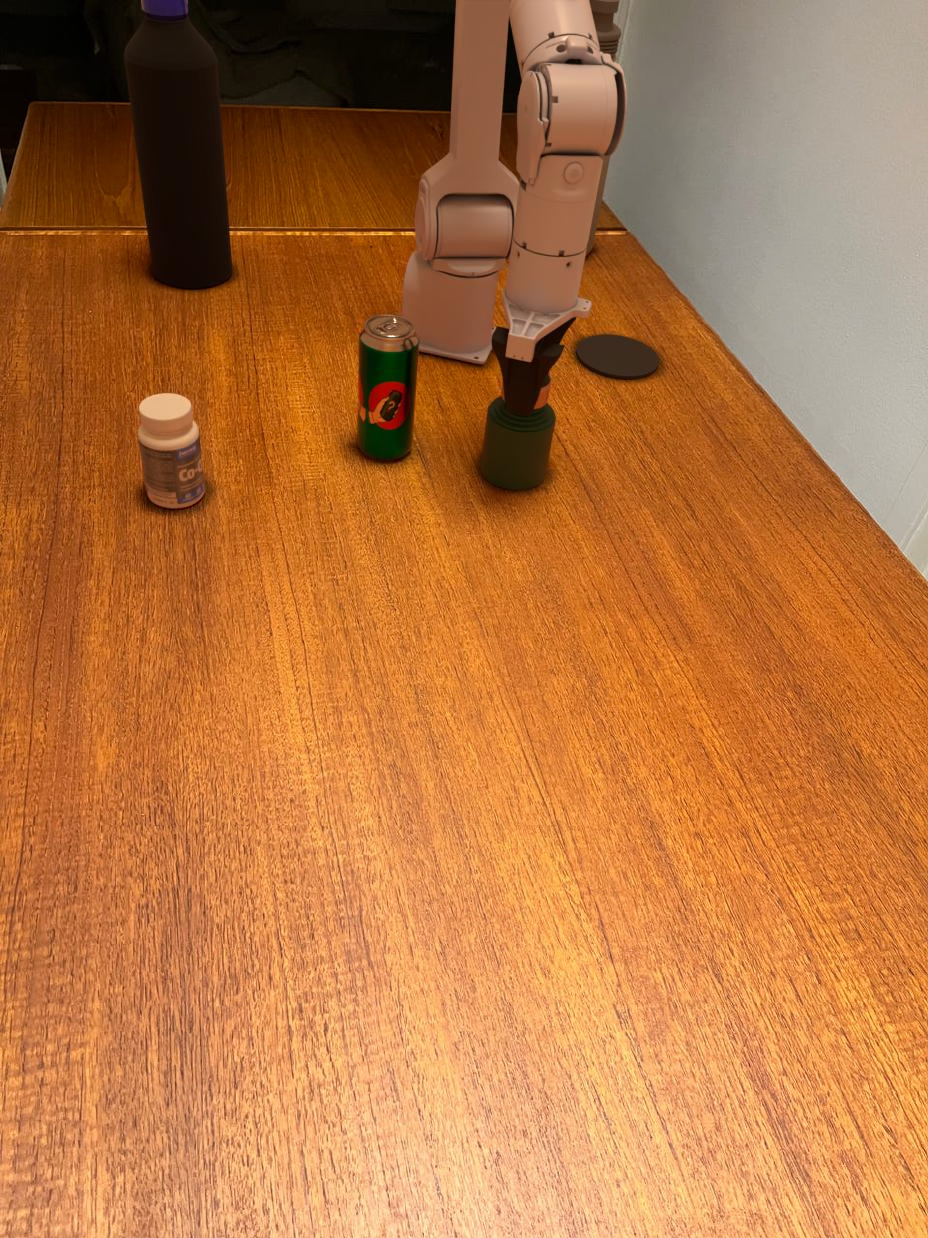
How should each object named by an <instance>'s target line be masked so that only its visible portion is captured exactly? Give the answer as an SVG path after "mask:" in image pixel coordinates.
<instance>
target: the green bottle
mask: <svg viewBox="0 0 928 1238" xmlns="http://www.w3.org/2000/svg"><path fill="white" fill-rule="evenodd" d="M556 421H557V416H556V413H555V411H554V409H553V407H552V406H551V405H550V403H548V402H547V403H546V405H544V406H543V407H541V408H538V409H534V410H533V412H532V414H531V415H530V417H526V416H522V415H517V414H513V413H508V412H507V411H506V406H505V401H504V400H503V399H502V396H501V395H499V396H498V397H496V398H495V399H493V400H492V401H491V403H489V404H488V406H487V410H486V417H485V426H484V433H483V442H482V450H481V457H480V465H479V469H480V470H479V471H480V472H481V475H482V476H483V478H484V479H486V480H487V481H488V482H489V483H490V484H492V485H494V486H497V487H498V488H502V489H505V490H511V491H526V490H530V489H534V488H536V487H538V486H540V485H541V484H542V483H543V482H544V480H545V479H546V475H547V471H548V466H549V465H548V464H549V459H550V453H551V449H552V443H553V437H554V431H555V427H556Z"/></svg>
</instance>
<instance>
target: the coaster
mask: <svg viewBox="0 0 928 1238" xmlns="http://www.w3.org/2000/svg"><path fill="white" fill-rule="evenodd" d="M575 355H576V358H577V359H578V361H579V362H580V364H582V366H584V367H586V369H589V370H590V371H592V372H594V373H596V374H597V375H598V374H599V375H601V376H603V377H608V378H612V379H617V380H638V379H643V378H646V377H650V376H651V375H653V374H654V373H655V372H656V371H657V370H658V368H659V364H660V359H659V356H658V354H657V353H656V351H655V350H654V349H653V348H652V347H650V346H649V345H648V344H646V343H643V342H642V341H640V340H637V339H635V338H632V337H628V336H624V335H619V334H611V333H610V334H608V333H606V334H605V333H603V334H595V335H591V336H588V337H585V338H583V339H581V340H580V341H579V343H578V344H577V346H576V349H575Z"/></svg>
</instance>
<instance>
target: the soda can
mask: <svg viewBox="0 0 928 1238" xmlns="http://www.w3.org/2000/svg"><path fill="white" fill-rule="evenodd" d="M419 355H420V351H419V337H418V335H417V334H416V327H415V325H414V324H413V323H412V322H411V321H410V320H408V319H406V318H404V317H401V315H395V314H378V315H374V316H371V317H369V318H367V319H366V320H365V321H364V323H363V329H362V330H361V331H360V333H359V336H358V367H357V369H358V370H357V376H358V377H357V412H356V413H357V415H356V416H357V417H356V420H357V421H356V445H357V446H358V448H359V449H360V450H361V451H362V453H363V454H365V455H366V456H367V457H368V458H372V459H374V460H379V461H394V460H399V459H400V458H402V457H404V456H406V454H408V453H409V452H410V451H411V449H412V447H413V443H414V442H413V441H414V427H415V426H414V425H415V413H416V400H417V399H416V398H417V384H418V383H417V382H418V369H419V368H418V367H419Z"/></svg>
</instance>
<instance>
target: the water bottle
mask: <svg viewBox="0 0 928 1238" xmlns="http://www.w3.org/2000/svg"><path fill="white" fill-rule="evenodd" d="M589 2H590V6H591V11H592V15H593V20H594V24H595V29H596V33H597V38H598V42H599V47H600V51H601V52H603V54H610V56H611V60H612V62H615V63H616V61H617V57H618V56H617V55H616V54H617V53H618V49H619V43H620V39H621V36H622V29H621V28H620V27H619V26H618V25H617V24H616V22H614V17H615V14H617V13H618V12H619V5H620V0H589ZM601 159H602V160H603V164H602V169H601V175H600V180H599V185H598V191H597V196H596V202H595V207H594V213H593V218H592V223H591V229H590V234H589V240H588V245H587V250H586V256H587V255H588V254H590V252H591V251H592V250H593V247H594V245H595V238H596V234H597V229H598V223H599V219H600V218H599V217H600V212H601V207H602V202H603V197H604V192H605V186H606V181H607V176H608V171H609V166H610V160H611V156H605V155H603V156H601Z"/></svg>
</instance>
